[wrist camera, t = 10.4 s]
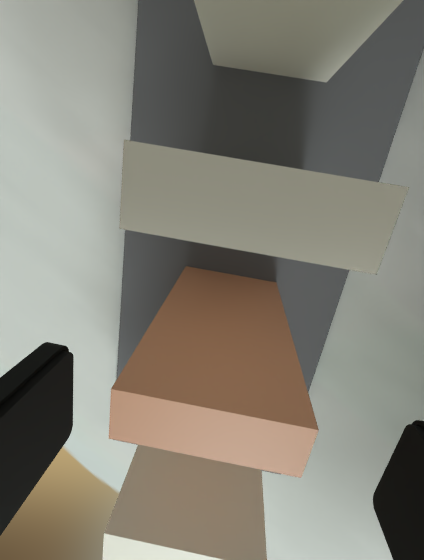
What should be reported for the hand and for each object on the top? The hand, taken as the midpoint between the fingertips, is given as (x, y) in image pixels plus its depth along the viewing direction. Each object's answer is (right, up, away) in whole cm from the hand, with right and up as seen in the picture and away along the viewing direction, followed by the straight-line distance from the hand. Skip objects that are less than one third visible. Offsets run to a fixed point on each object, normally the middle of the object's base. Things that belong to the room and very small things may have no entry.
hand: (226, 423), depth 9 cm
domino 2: (0, -2, +10) cm, 10 cm away
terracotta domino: (+1, +4, +8) cm, 9 cm away
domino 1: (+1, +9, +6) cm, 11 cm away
